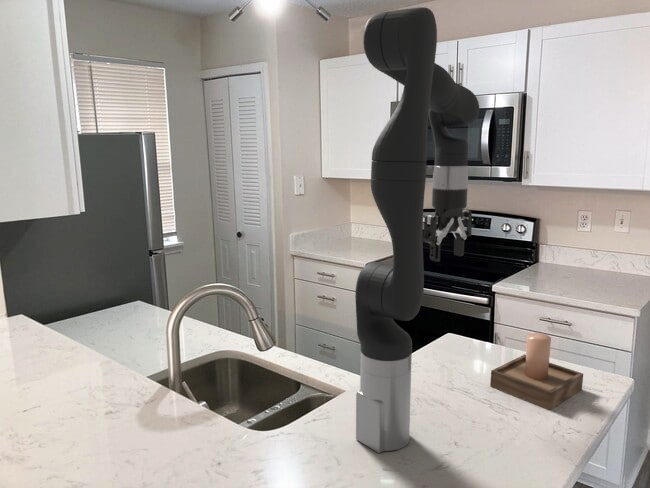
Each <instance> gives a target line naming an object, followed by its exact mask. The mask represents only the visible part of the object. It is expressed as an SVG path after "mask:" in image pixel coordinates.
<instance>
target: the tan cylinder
mask: <svg viewBox="0 0 650 488" xmlns="http://www.w3.org/2000/svg"><path fill="white" fill-rule="evenodd" d="M526 338H527V339H526V351H525V355H526V363H525V375H526V376H527V377H529V378H531V379H535V380H545V379H547V378H548V370H549V363H550V357H551V356H550V355H551V344H552V343H551V342H552V337H551V336H550V335H549V334H545V333H540V332H530V333H528V334H527V337H526Z"/></svg>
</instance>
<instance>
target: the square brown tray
mask: <svg viewBox="0 0 650 488" xmlns="http://www.w3.org/2000/svg"><path fill="white" fill-rule="evenodd" d="M525 363H526V353H525V354H522V355H521V356H519V357H516V358H515V359H512V360H510V361H508V362H506V363H504V364H502V365H500V366H498V367H495V368H493V369H492V370H490V371H491V372H490V385H489V387H491V388H493V389H496V390H499V391H500V392H503V393H505V394H509V395H511V396H513V397H517V398H518V399H521V400H524V401H526V402H528V403H531V404H534V405H536V406H538V407H542V408H544V409H545V410H549V411H551V410H553V409H555V408H556V407H557V406H559V405H561V404H562V403H563V402H565V401H567V400H568V399H570V398H572V397H573V396H575V395H576V394H578V393H579V392H581V391H582V390H583V383H584V382H583V381H584V373H582V372H579V371H577V370H573V369H570V368H568V367H565V366H561V365H558V364H555V363H552V362H549V370H548V378H547V379H545V380H535V379H531V378H529V377H527V376H526V375H525Z"/></svg>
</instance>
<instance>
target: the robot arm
mask: <svg viewBox="0 0 650 488" xmlns="http://www.w3.org/2000/svg"><path fill="white" fill-rule="evenodd" d="M436 22H437V21H436V18H435V15H434V12H433V10H431V9H430V8H428V7H425V6H423V7H420V6H419V7H412V8H403V9H396V10H388V11H387V10H386V11H381V12H379V13H376V14H373V15H372V16H370V17H369V19H368V20H367V21H366V22H365V23H366V24H365V26H364V30H363V35H362V38H363V40H362V41H363V42H362V43H363V44H362V45H363V50H364V53H365V56H366V58H367V61H368V62H369V63H370V65H371V66H372V67H373V68H374V69H376V70H377V71H379V72H381V73H382V74H384V75H386V76H388V77H390V78H391V79H392V80H394V81H396V82H398V83H399V84H400V85H402V86H403V91H402V94H401V97H400V100H399V102H398V104H397V106H396V108H395V110H394V112H393V113H392V115H391V117H390V118H389V119H388V121H387V123H386V124H385V126H384V127H383V129H382V130H381V132H380V133H379V136H377V137H378V138H377V139H376V141H375V143H374V146H373V148H372V152H371V165H370V166H371V170H370V171H371V173H370V188H371V194H372V197H373V200H374V202H375V205H376V207H377V209H378V212H379V213H380V215H381V218H382V219H383V221H384V224H385V225H386V228H387V230H388V233H389V236H390V239H391V244H392V253H393V256H392V257H393V261H392V263H393V264H392V263H391V264H390V263H384V262H378V261H371V262H368V263H367V264H366V265H364V266H363V267H362V268H361V270H360V272H359V274H358V277H357V279H356V283H355V284H356V285H355V316H356V319H355V320H356V334H357V338H358V340H359V343H360V369H359V372H360V377H359V381H360V382H359V385H360V386H359V390H358V391H356V394H355V398H356V399H355V402H356V403H355V440H356V441H358V442H360V443H362V444H363V445H365V446H366V447H368V448H369V449H372V451H375V452H376V453H378V454H380V453H383V452H390V451H397V450H400V449H403V448H404V447H406V446H407V445H408V443H409V442H410V433H411V432H410V428H411V425H410V424H411V394H412V393H411V392H412V391H411V390H412V389H411V388H412V387H411V386H412V357H413V354H412V353H413V342H412V338H411V336H410V334H409V333H408V332H407V331H405V330H404V329H403V328H402V327H400V325H399V324H397V323H396V322H395V320H397V321H403V322H409V321H411V320H414V318H416V316H417V315H418V313H419V311H420V309H421V308H422V307H421V306H422V303H423V298H424V291H425V290H424V289H425V288H424V285H425V278H424V277H425V276H424V275H425V273H424V272H425V271H424V269H425V268H424V248H423V247H424V245H423V242H425V243H428V244H429V259H430V261H432V262H435V263H436V262H440V261H441V243H442V241H443V239H444V238H446V236H447V235H448V233H449V234H450V233H452V234H453V236H454V240H453V255H454V256H457V257H462V256H464V253H465V240H467V238H468V237H471V236H472V227H473V226H472V216H473V214H472V211H471V210H468V209H466V208H467V204H468V203H467V202H468V183H469V174H468V159H469V158H468V157H469V143H468V141H467V140H466V139H465V138H462V137H457V136H453V135H451V134H450V133H449V131H448V128H447V127H468V126H470V125H473V124H474V123H475V122H476V120H478V117H479V114H480V103H479V102H480V101H479V100H478V98H477V96H476V95H475V93H474V92H473V91H471V89H469V88H467V87H465V86H463V85H461V84H459V83H457V82H455V80H454V78H453V77H452V76H451V75H450V73H449V72H448V71H447V70H446V68H443V66H442V65H439V64H438V63H436V55H437V46H438V45H437V43H438V28H437V27H438V26H437V23H436ZM428 124H430V128H431V130H432V131H431V132H432V138H433V142H434V166H433V167H434V169H433V173H432V193H431V195H432V197H431V206H432V208H433V209H434V210H435V211H434V212H435V213H434V214H425V216H424V207H425V206H424V204H425V203H424V202H425V192H426V190H425V189H426V179H427V161H428V160H427V159H428V131H429V129H428V127H429V125H428ZM465 226H466V228H465ZM429 234H430V236H429Z"/></svg>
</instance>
